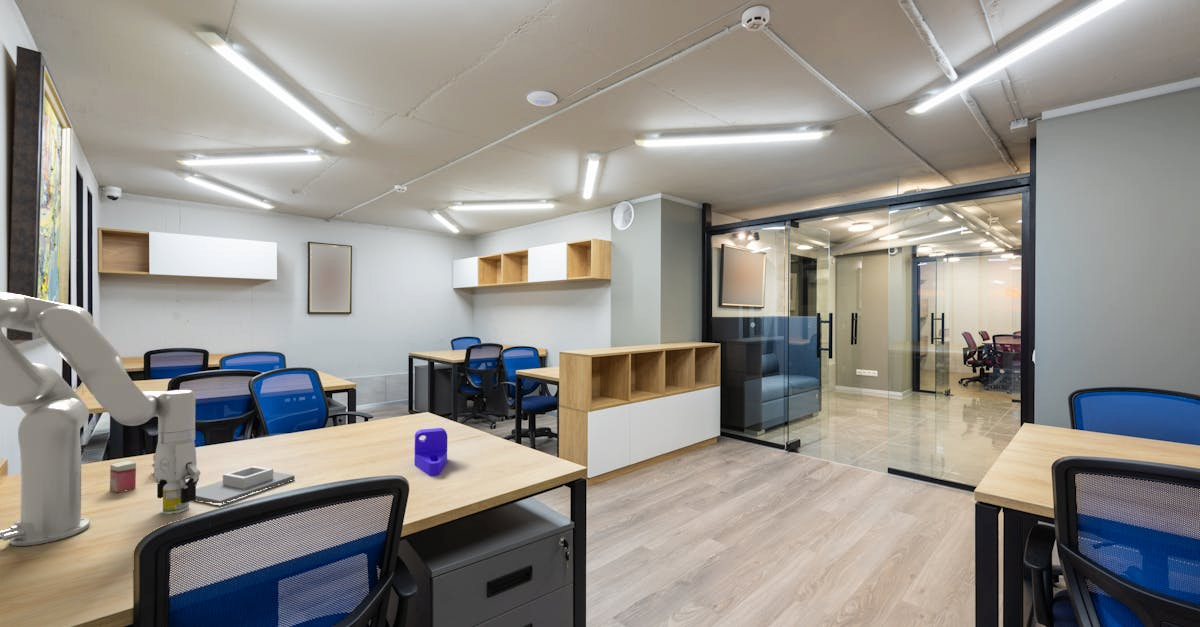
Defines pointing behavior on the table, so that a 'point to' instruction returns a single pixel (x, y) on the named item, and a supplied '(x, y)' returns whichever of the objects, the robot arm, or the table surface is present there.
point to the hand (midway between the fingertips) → (176, 498)
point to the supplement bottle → (173, 498)
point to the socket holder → (241, 484)
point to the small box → (122, 476)
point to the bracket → (431, 451)
